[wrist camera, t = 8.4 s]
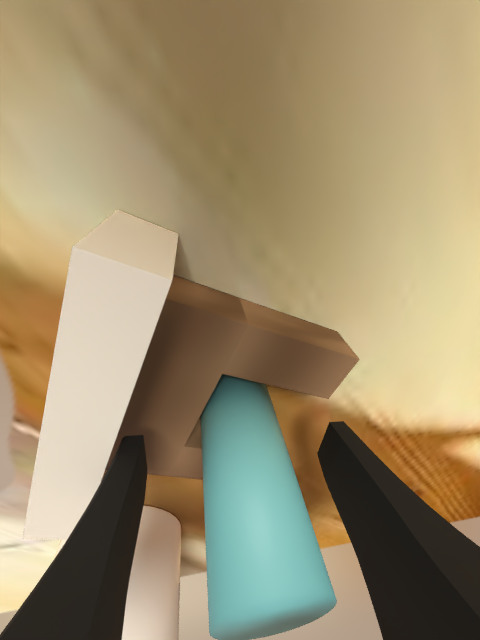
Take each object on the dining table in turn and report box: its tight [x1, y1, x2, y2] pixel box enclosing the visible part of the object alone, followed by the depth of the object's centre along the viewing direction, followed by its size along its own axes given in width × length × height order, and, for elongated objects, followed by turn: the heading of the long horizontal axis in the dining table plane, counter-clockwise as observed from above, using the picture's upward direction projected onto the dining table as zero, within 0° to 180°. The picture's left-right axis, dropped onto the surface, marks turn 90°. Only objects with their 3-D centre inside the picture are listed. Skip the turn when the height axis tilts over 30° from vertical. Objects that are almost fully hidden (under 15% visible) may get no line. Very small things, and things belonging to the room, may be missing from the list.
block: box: [105, 275, 359, 480], centre depth 13 cm, size 8×9×2 cm
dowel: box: [200, 374, 337, 640], centre depth 10 cm, size 3×3×8 cm
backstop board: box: [22, 210, 179, 540], centre depth 10 cm, size 2×12×4 cm, turn 156°
